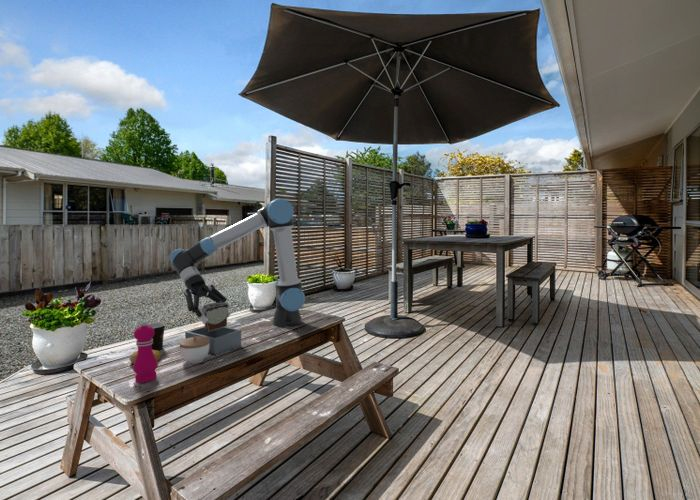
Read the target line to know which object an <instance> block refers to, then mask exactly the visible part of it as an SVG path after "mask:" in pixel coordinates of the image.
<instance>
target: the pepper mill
mask: <svg viewBox="0 0 700 500" xmlns="http://www.w3.org/2000/svg"><path fill="white" fill-rule="evenodd" d="M147 324H148V322H147V321H145V320H143V321H142V322H141V323H140V325H139V326H138V327H137V328H136V329H135V330H134V332H133V337H134V339H135V340H136V341H135V346H137V351H138V354H137V357H136V360H135V362H134V364H133V367H132V370H133V372H134V373H135V376H134V377H135V379H134V381H135V382H136V383H138V382H139V383H140V384H141V383H142V384H143V382H145V383H147V382H148V383H149V382H151V381H154V380H155V379H156V378H157V371H156V370H157V368H158V367H159V366H158V361H157V360H156V358H155V356H154V354H153V351H152V344H153V339H152V337H153V336H154V329H153V328H152V327H151V326H148V325H147Z"/></svg>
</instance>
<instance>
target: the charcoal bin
mask: <svg viewBox="0 0 700 500" xmlns="http://www.w3.org/2000/svg"><path fill="white" fill-rule="evenodd" d="M184 334H185V338H184V339H187V338H191V337H194V336H196V337H207V338H209V339H210V348H209V353H208V355H209V356H213V357H216V356H220V355H221V354H224V353H227V352H230V351H232V350H234V349H237V348H240V347H242V329H237V328H232V327H229V326H226V327H223V328H219V329H216V330H213V331H209V332H207V331H206V330H205V325H204V326H201V327H198V328H194V329H191V330H187V331H185V333H184ZM208 355H207V356H208Z"/></svg>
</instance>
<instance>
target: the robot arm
mask: <svg viewBox="0 0 700 500" xmlns="http://www.w3.org/2000/svg"><path fill="white" fill-rule="evenodd" d="M293 207H294V206H293V205H292V204H291V202H289V201H288V200H287V199H284V198H274V199H272V200H271V201H270V202H268V204H266V205H264V206H263V207H261V208H260V209H257V211H256V213H254V214H251V215H250V216H248V217H246V218H244V219H243V220H239V221H238V222H236V223H234V224H233V225H232V224H231V225H230V226H228V227H226V228H225V229H222V230H220V231H217V232H215V233H214V234H211V235H209V236H208V237H205V238H203V239H201V240H199V241H198V242H197V243H195V244H193V245H192V246H191V247H189V248H187V249H184V248H178V249H174V250H173V251H172V252H171V253H170V254H169V261H170V262H171V264H172V265H171V266H173V268H174V269H175V271H176V272H177V274H178V275H179V277H180V279H181V280H182V282H183V283H184V285H185V286H186V289H185V291H183V295H184V296H185V300H186V304H187V305H186V306H187V310H188V312H192V313H193V314H195V315H196V316H197V318H200V320H201V322H202V324H203V325H205V324H206V323H207V321H208V318H206V316H205V314H204V313H202V307H200V306H199V305H200V298H207V299H208V298H209V300H212V301H213V302H214V303H227V302H226V301H228V299H227V297H225V296H224V295H223V294H222V293H221V292H220V291H219V290H218V289H217V288H216V287H215V286H214V284H211V285H206V282H205V279H204V277H203V275H201V273H200V272H199V270H198V268H197V267H196V264H198V263H200V262H201V261H203V260H205V259H206V258H207V257H209V256H211V255H213V254H214V253H215V252H217V251H218V250H220V249H222V248H224V247H226V246H228V245H230V244H232V243H234V242H236V241H238V240H240V239H242V238H244V237H246V236H249V235H250V234H252V233H254V232H256V231H258V230H260V229H262V228H264V227H265V228H269V230H270V231H272V232H273V233H272V234H273V239H274V246H275V253H276V262H277V268H278V275H279V280H277V281H276V282H275V305H276V306H275V312H274V315H273V318H272V325H274V326H276V327H281V328H282V327H284V328H286V327H287V328H289V327H296V326H299V325H301V324H302V323H303V318H302V316H301V313H300V312H301V311H300V309H301V308H302V307H303V306H304V304H305V302H306V295H305V293H304V290H303V283H302V280H301V279H299V277H298V270H297V264H296V256H295V248H294V243H293V241H294V240H293V235H292V234H293V233H292V232H293V231H292V229H293V228H294V208H293ZM230 315H231V312H230V311H229V309H228V314H227V319H228V318H229V317H230Z"/></svg>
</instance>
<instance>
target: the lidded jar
mask: <svg viewBox="0 0 700 500" xmlns="http://www.w3.org/2000/svg"><path fill="white" fill-rule="evenodd" d="M209 348H210V339H209V338H207V337H196V336H194V337H191V338H187V339H185V338H184V339H182V340H181V341H179V350H180V354H181V357H182V359H184V361H186V363H187V364H199V363H201V362H203V361H205V359H206V358H207V356H208V353H209Z"/></svg>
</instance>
